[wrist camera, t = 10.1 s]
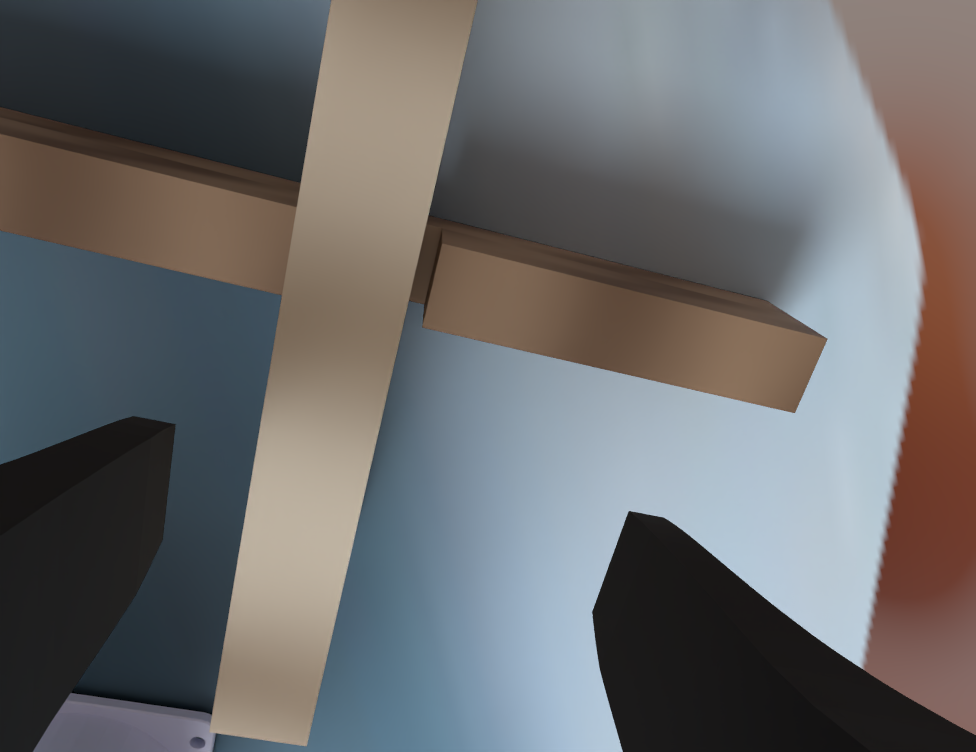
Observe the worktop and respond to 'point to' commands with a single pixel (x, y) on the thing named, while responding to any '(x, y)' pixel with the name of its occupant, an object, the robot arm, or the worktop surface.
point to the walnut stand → (439, 273)
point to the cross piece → (335, 346)
